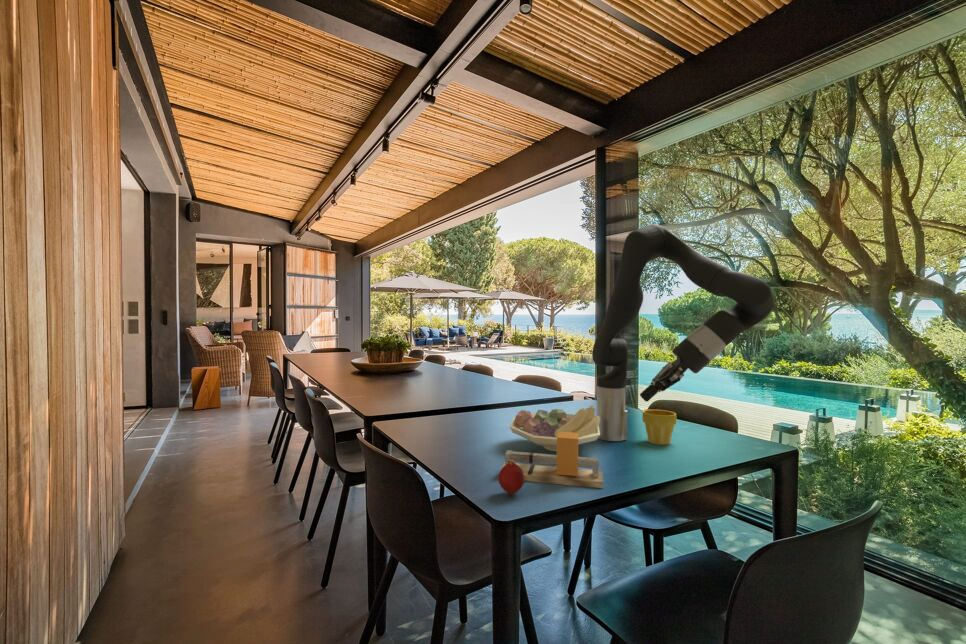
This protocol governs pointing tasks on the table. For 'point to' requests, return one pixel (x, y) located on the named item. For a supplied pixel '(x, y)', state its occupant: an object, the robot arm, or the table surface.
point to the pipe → (551, 460)
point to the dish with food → (556, 426)
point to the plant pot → (659, 425)
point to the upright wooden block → (567, 453)
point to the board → (560, 476)
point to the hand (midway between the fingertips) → (642, 398)
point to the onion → (511, 478)
